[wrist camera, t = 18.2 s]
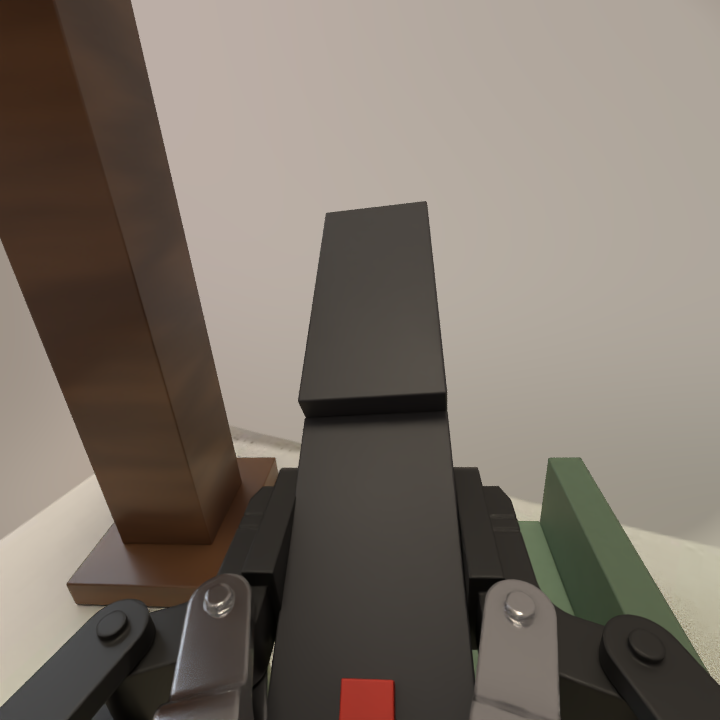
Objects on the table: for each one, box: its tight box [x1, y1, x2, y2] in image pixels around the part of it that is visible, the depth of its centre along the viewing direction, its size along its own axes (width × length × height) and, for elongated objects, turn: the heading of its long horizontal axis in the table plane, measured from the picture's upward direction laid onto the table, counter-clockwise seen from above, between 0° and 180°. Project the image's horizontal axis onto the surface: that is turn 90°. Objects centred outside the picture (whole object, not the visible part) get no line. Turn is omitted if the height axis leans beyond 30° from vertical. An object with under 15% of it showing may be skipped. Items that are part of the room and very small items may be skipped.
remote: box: [267, 201, 475, 720], centre depth 13 cm, size 17×4×2 cm, turn 177°
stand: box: [0, 0, 278, 607], centre depth 20 cm, size 10×8×32 cm
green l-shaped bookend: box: [472, 458, 710, 678], centre depth 15 cm, size 16×12×6 cm
